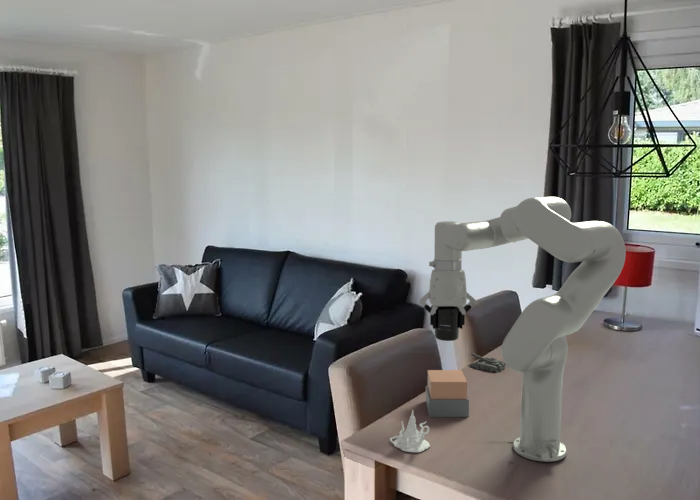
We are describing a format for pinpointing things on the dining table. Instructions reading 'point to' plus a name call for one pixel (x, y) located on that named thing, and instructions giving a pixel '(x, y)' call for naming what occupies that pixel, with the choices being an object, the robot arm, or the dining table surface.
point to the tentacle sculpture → (411, 437)
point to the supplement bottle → (447, 323)
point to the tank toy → (488, 364)
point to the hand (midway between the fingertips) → (447, 327)
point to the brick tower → (447, 394)
